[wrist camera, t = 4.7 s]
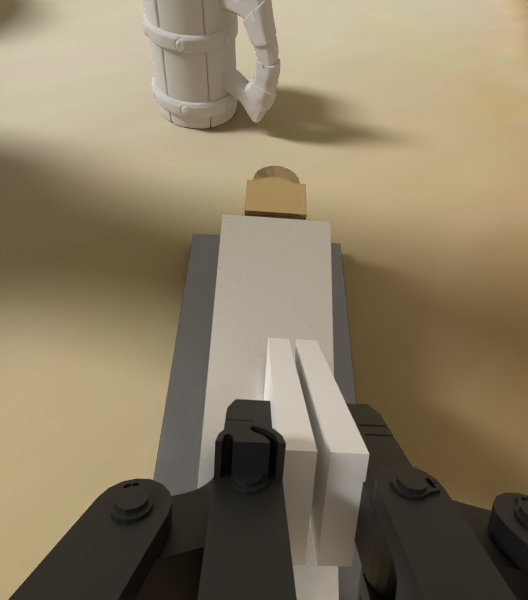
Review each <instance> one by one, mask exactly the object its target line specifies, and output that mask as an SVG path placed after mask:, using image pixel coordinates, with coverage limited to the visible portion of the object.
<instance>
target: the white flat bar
mask: <svg viewBox="0 0 528 600" xmlns="http://www.w3.org/2000/svg"><path fill="white" fill-rule="evenodd" d="M268 338H283V339H289V341H290V345H291V349H292V353H293V357H294V355H295V344H296V339H300V340H317V342H318V345H319V347H320V349H321V351H322V353H323V355H324V358H325V360H326V362H327V364H328V366H329V368H330V370H331V373H332V375H333V377H334V362H333V316H332V271H331V226H330V222H327V221H312V220H298V219H284V218H270V217H256V216H241V215H227V214H222V224H221V235H220V246H219V257H218V268H217V278H216V289H215V300H214V311H213V322H212V333H211V344H210V355H209V365H208V376H207V387H206V398H205V409H204V420H203V431H202V442H201V453H200V463H199V474H198V485H197V489H198V488H200V487H202V486H204V485H205V484H207V483H208V482H209V481H210V480H211V479H212V478H213V477H214V459H215V440H216V438H217V436H218V434H219V433H220V432H221V431H223V430H224V425H225V418H226V412H227V407H228V406H229V405H230V404H231V403H232V402H233V401H234V400H235V399H245V400H264V388H265V374H266V361H267V347H268ZM293 572H294V581H295V589H296V597H297V600H339V588H338V566H317V563H316V557H315V551H314V546H313V540H312V534H311V528H310V522H309V531H308V540H307V548H306V557H305V565H293Z"/></svg>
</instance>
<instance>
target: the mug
mask: <svg viewBox="0 0 528 600" xmlns="http://www.w3.org/2000/svg"><path fill="white" fill-rule="evenodd" d="M144 7H145V10H144V13H143V30H144V33H145V35H147V37H148V38H149V42H150V49H151V56H152V63H153V70H154V75H153V77H152V80H151V86H152V94H153V97H154V99H155V100H156V102H157V103H158V105H159V109H160V111H161V113H162V115H163V116H164V117H165V118H166V119H167V120H169V121H170V122H172V121H173V123H174V124H176V125H179V126H182V127H189V128H198V129H205V128H210V125H211V127H215V126H218V125H221V124H223V123H225V122H227V121H228V120H230V119H231V118H232V116H233V115H234V114H235V112H236V107H237V101H238V100H239V101H240V103H241V104H242V105H243V106H244V108H245V110H246V112H247V113H248V115H249V116H250V118H251V120H252V121H253V122H255V123H258V122H259V121H260V120H261V119H262V118H263V117H264V115H265V113H266V111H268V110H269V109H270V108H271V107H272V105H273V103H274V101H275V98H276V94H277V92H276V89H277V83H278V77H279V73H280V59H278V44H277V39H276V29H275V23H274V18H273V11H272V2H271V0H144ZM237 15H239V16H241V17H242V18H243V19H244V21H243V23H244V25H245V27H246V30H247V33H248V36H249V39H250V41H251V43H252V44H253V45H254V48H255V51H256V55H257V58H256V59H255V60H256V70H255V76H254V77H253V79H252V80H251V81H250V82H249V81H248V80H247V79H246V78H245V77H244V76H243V75H242V74H241V73H240V72H239V71H237V70H236V55H235V38H236V36H237V32H238V18H237Z"/></svg>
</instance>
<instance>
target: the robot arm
mask: <svg viewBox="0 0 528 600" xmlns="http://www.w3.org/2000/svg"><path fill="white" fill-rule="evenodd" d="M309 522H310V528H311V534H312V540H313V546H314V551H315V557H316V563H317V566H340V567H353V560H354V553H355V547H356V548H357V551H358V554H359V558H360V561H361V565H362V567H361V574H360V580H359V586H358V593H357V599H356V600H528V496H526V495H523V494H519V493H503V494H501V495H499V496H496V499H495V501H494V503H493V507H492V511H489V510H485V509H482V508H478V507H474V506H471V505H467V504H463V503H460V502H457V501H454V500H451V498H450V496H449V495H448V493H447V492H446V490H445V489H444V488H443V487H442V486H441V484H440V483H439V482H438V481H437V480H436V479H434V478H433V477H431V476H430V475H428V474H427V473H425V472H423V471H421V470H418V469H416V468H414V467H412V466H411V464H410V462H409V461H408V459H407V458H406V456H405V454H404V453H403V451H402V449H401V448H400V446H399V444H398V443H397V441H396V439H395V438H394V437H393V435H392V433H391V431H390V430H389V428H387V425H386V423H385V421H384V420H383V418H382V417H381V415H380V414H379V413H378V412H376V411H375V410H374V409H373V408H371V407H370V406H369V405H367V404H348V403H345V400H344V398H343V396H342V394H341V392H340V390H339V388H338V385H337V383H336V381H335V379H334V377H333V375H332V373H331V370H330V368H329V366H328V364H327V362H326V360H325V358H324V355H323V353H322V351H321V349H320V347H319V345H318V342H317V340H300V339H296V344H295V355H294V357H293V353H292V349H291V345H290V341H289V339H283V338H268V347H267V361H266V374H265V388H264V400H245V399H235V400H234V401H233V402H232V403H231V404H230V405H229V406H228V407H227V412H226V418H225V425H224V430H223V431H221V432H220V433H219V434H218V436H217V438H216V440H215V459H214V477H213V478H212V479H211V480H210V481H209V482H208V483H207V484H205V485H204V486H202V487H200V488H198V489H196V490H193V491H190V492H187V493H183V494H178V495H173V496H171V495H170V491H169V490H168V489H167V488H166V487H165V486H164V485H163V484H161V483H159V482H156V481H154V480H151V479H133V480H128V481H123V482H121V483H119V484H116V485H114V486H112V487H110V488H108V489H107V490H106V491H105V492H104V493H102V494H101V495H100V496H99V497H98V498H97V499H96V500H95V501H94V502H93V503H92V505H91V506H90V507H89V508H88V509H87V510H86V511H85V513H84V514H83V515H82V516H81V517H80V518H79V519H78V521H77V522H76V523H75V524H74V525H73V526H72V527H71V529H70V530H69V531H68V532H67V533H66V534H65V535H64V537H63V538H62V539H61V540H60V541H59V542H58V543H57V545H56V546H55V547H54V548H53V549H52V550H51V551H50V553H49V554H48V555H47V556H46V557H45V558H44V560H43V561H42V562H41V563H40V564H39V565H38V566H37V568H36V569H35V570H34V571H33V572H32V573H31V574H30V576H29V577H28V578H27V579H26V580H25V581H24V582H23V584H22V585H21V586H20V587H19V588H18V589H17V590H16V592H15V593H14V594H13V595H12V596H11V597H10V598H9V600H297V597H296V589H295V581H294V572H293V565H305V557H306V548H307V540H308V531H309Z"/></svg>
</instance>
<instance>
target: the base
mask: <svg viewBox="0 0 528 600" xmlns="http://www.w3.org/2000/svg"><path fill="white" fill-rule="evenodd" d="M245 216H256V217H270V218H284V219H298V220H306V216H307V208H306V184H300V182H299V179H298V177H297V176H296V174H295V173H293V172H292V171H291V170H289V169H287V168H284V167H280V166H269V167H265V168H262V169H260V170H259V171H258V172H257V173H256V174H255V175H254V178H253V180H247V189H246V203H245ZM219 246H220V236H217V235H202V234H193V239H192V245H191V252H190V258H189V264H188V270H187V276H186V282H185V288H184V295H183V301H182V307H181V313H180V319H179V325H178V331H177V338H176V344H175V350H174V356H173V362H172V368H171V374H170V381H169V387H168V393H167V399H166V405H165V411H164V417H163V423H162V430H161V436H160V442H159V448H158V454H157V460H156V466H155V473H154V479H153V480H154V481H156V482H159V483H161V484H163V485H164V486H165V487H166V488H167V489H168V490H169V491H170V495H171V496H173V495H178V494H183V493H187V492H190V491H193V490H196V489H197V485H198V474H199V463H200V453H201V442H202V431H203V420H204V409H205V398H206V387H207V376H208V365H209V355H210V344H211V333H212V322H213V311H214V300H215V289H216V278H217V268H218V257H219ZM331 271H332V316H333V362H334V379H335V381H336V383H337V385H338V388H339V390H340V392H341V394H342V396H343V398H344V400H345V403H348V404H356V399H355V389H354V378H353V368H352V358H351V347H350V337H349V327H348V316H347V306H346V296H345V285H344V275H343V265H342V254H341V244H335V243H331ZM361 567H362V565H361V561H360V558H359V554H358V551H357V548H356V547H355V553H354V560H353V567H340V566H338V588H339V600H356V599H357V593H358V586H359V580H360V574H361Z"/></svg>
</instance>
